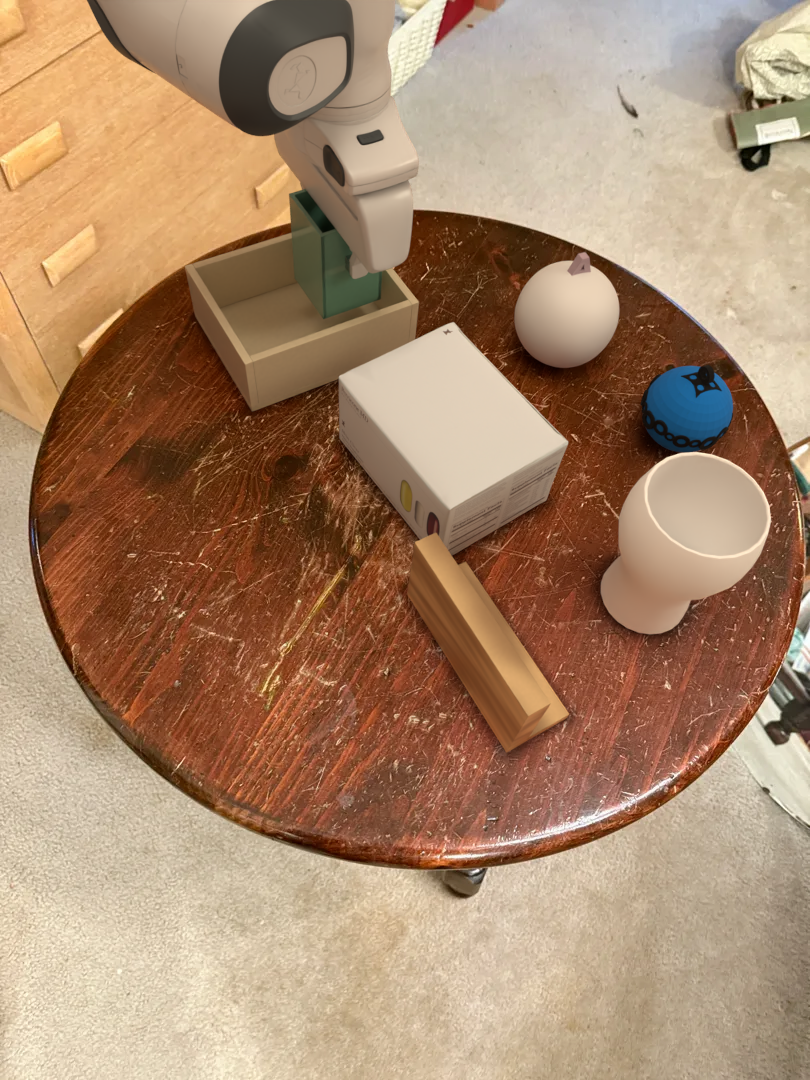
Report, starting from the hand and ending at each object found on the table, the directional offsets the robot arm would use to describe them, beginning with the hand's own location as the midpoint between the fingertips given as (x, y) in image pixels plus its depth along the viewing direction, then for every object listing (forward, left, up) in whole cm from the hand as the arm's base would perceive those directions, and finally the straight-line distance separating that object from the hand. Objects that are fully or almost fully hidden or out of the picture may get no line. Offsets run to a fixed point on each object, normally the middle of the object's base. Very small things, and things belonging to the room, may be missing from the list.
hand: (337, 247), depth 79 cm
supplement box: (0, -22, -10) cm, 24 cm away
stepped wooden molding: (-7, -40, -10) cm, 42 cm away
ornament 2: (+23, -29, -10) cm, 38 cm away
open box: (-4, 0, -10) cm, 11 cm away
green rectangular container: (+4, 0, -4) cm, 6 cm away
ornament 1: (+19, -14, -10) cm, 26 cm away
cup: (+9, -42, -10) cm, 44 cm away
